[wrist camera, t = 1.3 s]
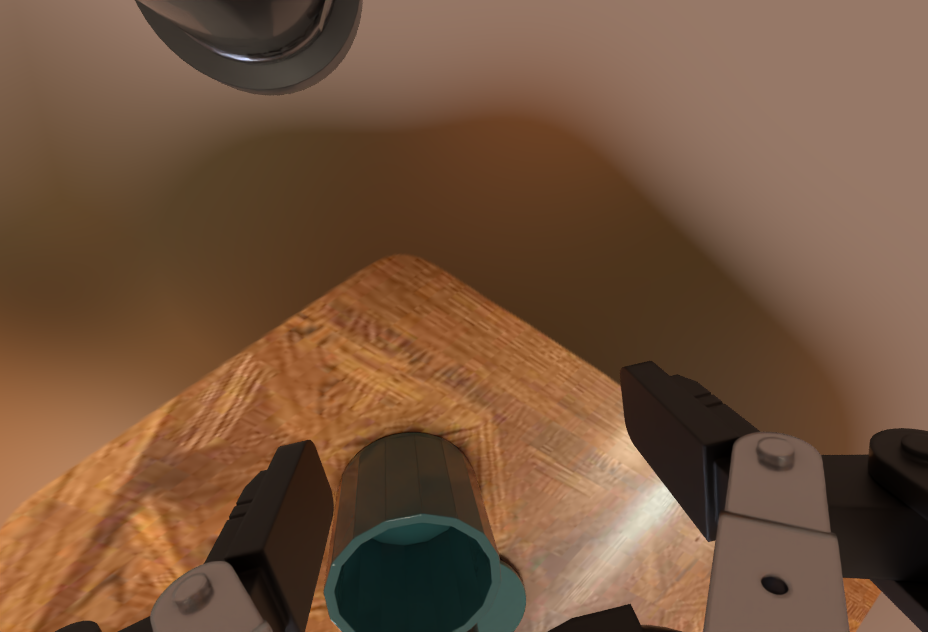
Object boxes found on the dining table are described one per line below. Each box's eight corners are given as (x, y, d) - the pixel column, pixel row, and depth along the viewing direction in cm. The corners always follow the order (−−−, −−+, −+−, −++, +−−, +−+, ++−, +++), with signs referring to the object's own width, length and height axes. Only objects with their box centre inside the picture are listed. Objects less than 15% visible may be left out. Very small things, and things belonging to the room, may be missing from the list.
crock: (310, 476, 34) (288, 574, 26) (435, 407, 33) (451, 484, 25) (383, 566, 37) (384, 677, 29) (496, 504, 37) (527, 598, 29)
